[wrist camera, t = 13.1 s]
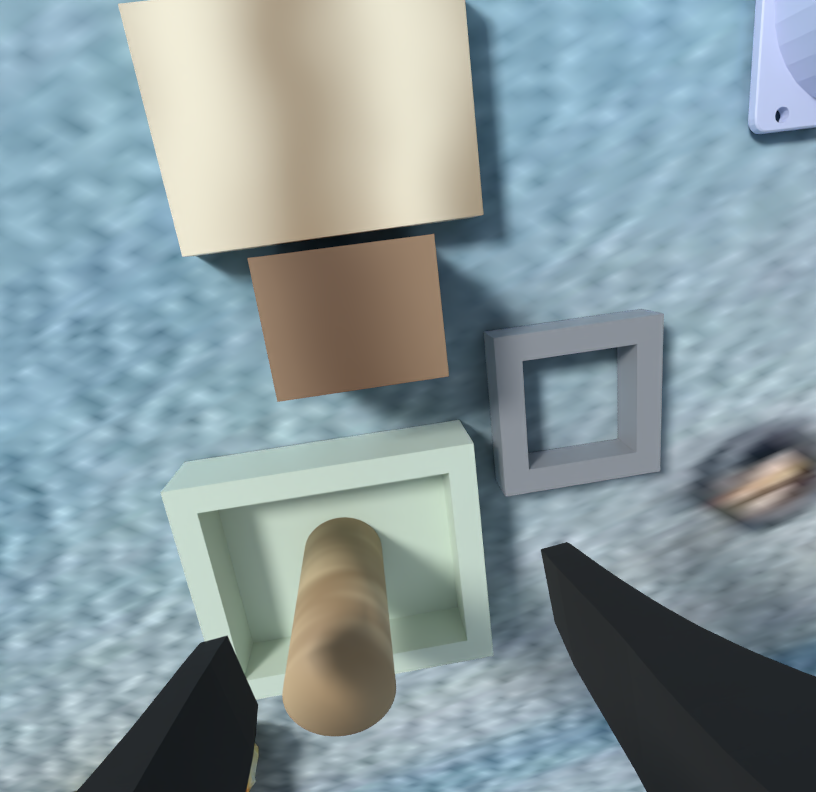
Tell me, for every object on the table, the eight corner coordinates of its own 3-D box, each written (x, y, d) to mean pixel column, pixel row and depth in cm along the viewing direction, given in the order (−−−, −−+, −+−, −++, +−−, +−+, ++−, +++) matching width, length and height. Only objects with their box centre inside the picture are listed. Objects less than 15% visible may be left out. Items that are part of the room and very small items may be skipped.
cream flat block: (449, -2, 17) (461, -34, 15) (470, 218, 19) (483, 215, 17) (145, 32, 16) (118, 3, 14) (200, 255, 18) (182, 256, 16)
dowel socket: (641, 308, 20) (663, 313, 19) (639, 456, 22) (659, 471, 21) (483, 331, 20) (493, 338, 18) (495, 480, 22) (505, 496, 20)
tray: (459, 419, 21) (473, 443, 18) (478, 612, 23) (493, 656, 21) (184, 461, 20) (160, 492, 17) (238, 655, 23) (223, 705, 20)
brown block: (413, 237, 18) (434, 233, 14) (425, 345, 20) (449, 376, 15) (275, 255, 18) (247, 258, 13) (296, 363, 19) (277, 401, 15)
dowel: (383, 516, 21) (398, 643, 14) (380, 583, 22) (393, 732, 15) (304, 517, 20) (281, 648, 14) (304, 585, 21) (283, 739, 15)
